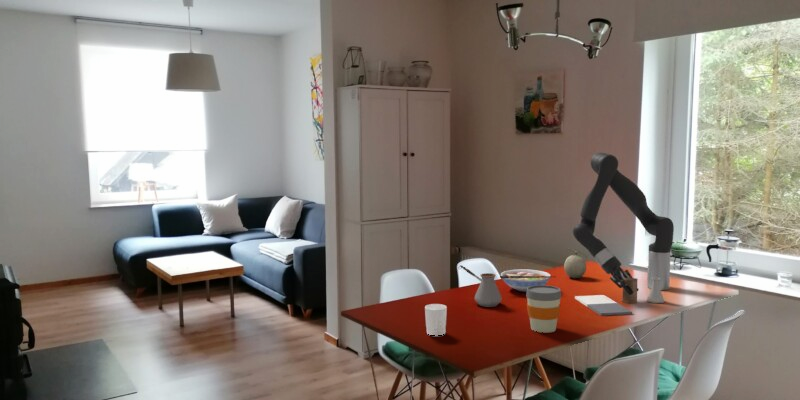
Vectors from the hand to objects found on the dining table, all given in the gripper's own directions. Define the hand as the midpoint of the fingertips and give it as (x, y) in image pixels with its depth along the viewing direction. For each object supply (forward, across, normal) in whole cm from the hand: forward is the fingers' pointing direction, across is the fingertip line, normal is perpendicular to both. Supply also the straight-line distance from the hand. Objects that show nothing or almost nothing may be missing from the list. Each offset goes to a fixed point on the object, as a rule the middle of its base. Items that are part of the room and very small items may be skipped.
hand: (634, 292), depth 255 cm
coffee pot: (-32, -42, +39) cm, 65 cm away
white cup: (-23, -85, +29) cm, 93 cm away
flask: (+7, +8, -1) cm, 11 cm away
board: (-3, -13, +9) cm, 16 cm away
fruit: (-25, +26, +32) cm, 48 cm away
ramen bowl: (-30, -11, +36) cm, 48 cm away
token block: (+2, 0, +4) cm, 5 cm away
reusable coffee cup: (-4, -56, +11) cm, 57 cm away
